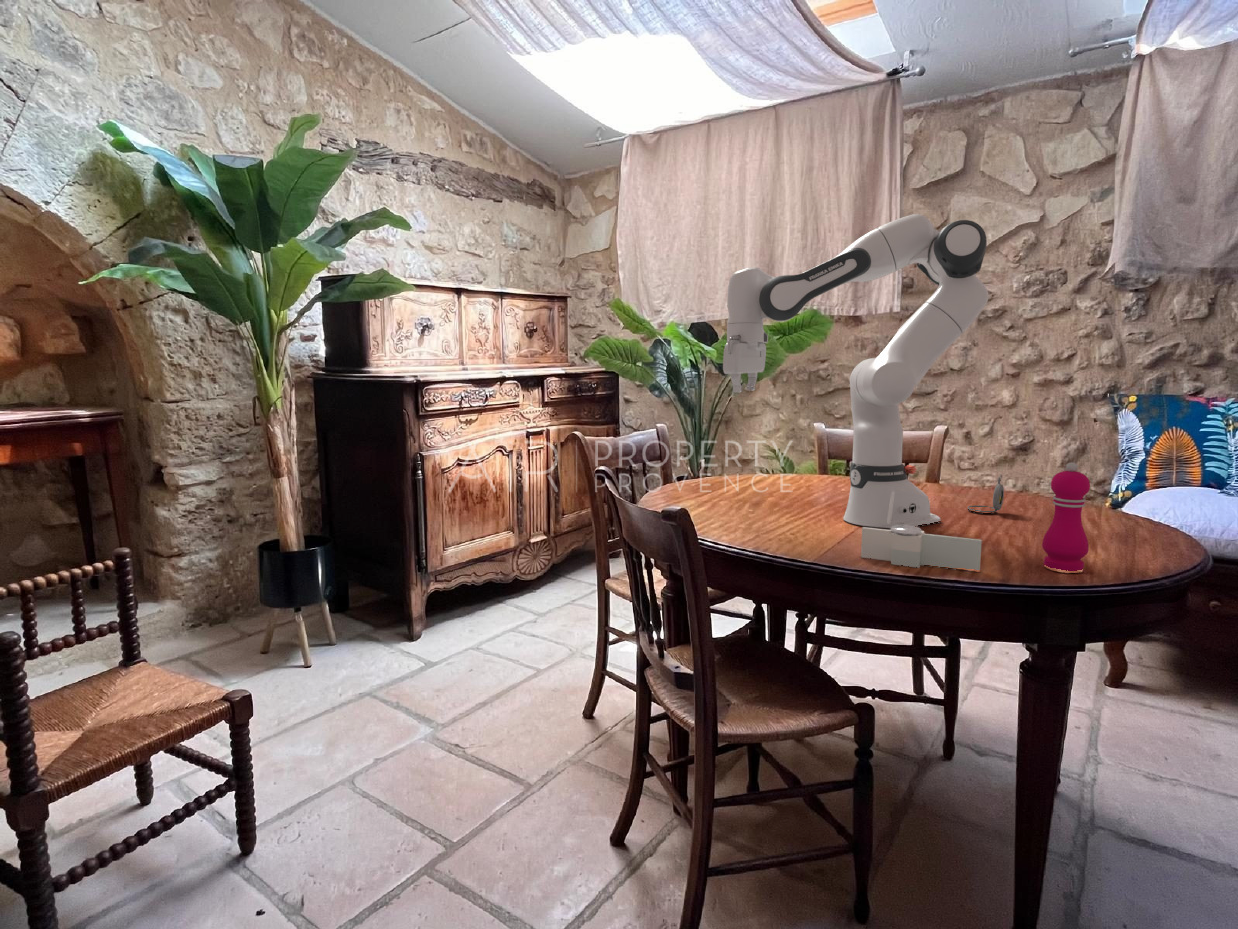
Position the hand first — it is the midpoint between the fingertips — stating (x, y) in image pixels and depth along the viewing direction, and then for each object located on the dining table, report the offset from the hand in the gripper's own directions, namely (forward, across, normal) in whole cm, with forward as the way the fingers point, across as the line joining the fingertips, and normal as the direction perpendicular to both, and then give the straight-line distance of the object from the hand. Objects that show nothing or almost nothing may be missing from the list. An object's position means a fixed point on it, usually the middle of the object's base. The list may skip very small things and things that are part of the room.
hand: (744, 391), depth 175 cm
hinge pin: (+31, -28, -43) cm, 60 cm away
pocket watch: (+31, +28, -54) cm, 69 cm away
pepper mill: (+31, -18, -70) cm, 78 cm away
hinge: (+31, -27, -46) cm, 62 cm away
